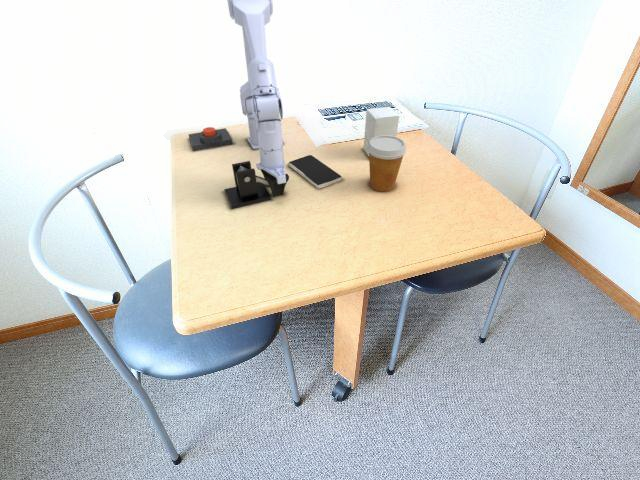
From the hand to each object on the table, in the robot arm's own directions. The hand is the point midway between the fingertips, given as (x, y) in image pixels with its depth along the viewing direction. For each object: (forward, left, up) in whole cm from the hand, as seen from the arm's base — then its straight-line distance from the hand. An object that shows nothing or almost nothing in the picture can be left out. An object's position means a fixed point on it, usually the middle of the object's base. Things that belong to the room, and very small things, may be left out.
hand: (275, 194), depth 96 cm
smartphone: (-13, -4, +1) cm, 13 cm away
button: (+10, -33, +5) cm, 35 cm away
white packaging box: (-35, -7, +1) cm, 35 cm away
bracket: (+7, 0, +1) cm, 7 cm away
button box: (+10, -35, +1) cm, 37 cm away
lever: (+5, 0, +5) cm, 7 cm away
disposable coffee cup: (-27, +9, +1) cm, 28 cm away
